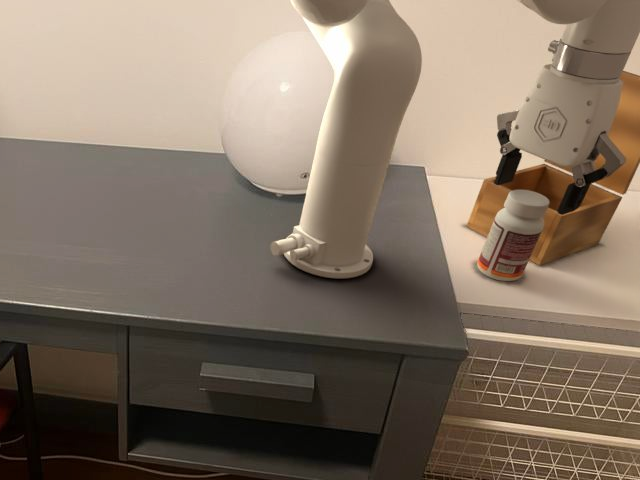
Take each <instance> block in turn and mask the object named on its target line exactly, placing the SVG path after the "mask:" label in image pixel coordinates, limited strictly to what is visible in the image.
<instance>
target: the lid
mask: <svg viewBox="0 0 640 480" xmlns="http://www.w3.org/2000/svg"><path fill="white" fill-rule="evenodd" d="M619 80H622V81H623V86H622V92H621V96H620V100H619V104H618V108H617V111H616V114H615V117H614V120H613V123H612V126H611V129H610V132H609V134H608V137H609V138H610V139H611V141H612V142H613V143H614V144H615V145H616V147H617V148H618V149H619V150H620V152H621V153H622V154H623V155H624V156H625V158H626V162H625V163H624V164H623V165H622V166H621V167H619V168H618V169H617V170H616V171H615V172H613V173H612V174H611V175H610V176H609V177H606V178H604V179H601V180H599V181H597V182H595V183H594V184H596V185H599V186H600V187H603V188H605V189H607V190H610V191H613V192H615V193H617V194H620V195H625V194H627V192H628V190H629V188H630V185H631V183H632V181H633V179H634V176H635V175H636V172H637V170H638V168H639V166H640V75H639V74H637V73H636V74H635V73H632V72H629V71H626V70H623V72H622V74H621V76H620V78H619ZM543 160H544V161H543V162H544V163H546V164H548V165H549V164H550V165H552V166H554V167H556V168H559V169H561V170H564V171H566V172H568V173H569V174H570V173H571V174H572V170H571V168H567V167H563V166H560V165H557V164H554V163H552V162H550V161H547V160H545V159H543ZM605 162H606V160H605V158H604V157H603V156H602V154H601V153H600V154H599V156H598V158H597V159H596V160H595V161H594V164H595V168H596V170H598V169H600V168H601V167H602V166H603V165H604V164H605Z"/></svg>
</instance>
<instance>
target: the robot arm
mask: <svg viewBox="0 0 640 480" xmlns="http://www.w3.org/2000/svg"><path fill="white" fill-rule="evenodd" d="M289 1H290V3H291V5H292V7H293V9H295V11H296V12H297V13H298V14H299V15H300V16H301V17H302V19H303V20H304V22H305V24H306V25H307V27H308V29H309V30H310V32H311V34H312V35H313V36H314V38H315V40H316V41H317V44H318V45H319V46H320V48H321V49H322V51H323V53H324V55H325V56H326V59H327V60H328V62H329V64H330V65H331V67H332V70H333V72H334V78H333V84H332V88H331V92H330V94H329V98H328V100H327V104H326V107H325V110H324V113H323V117H322V120H321V124H320V128H319V132H318V136H317V141H316V147H315V151H314V157H313V161H312V165H311V170H310V175H309V179H308V184H307V189H306V192H305V197H304V202H303V207H302V211H301V216H300V219H299V220H300V221H299V225H295V226H293V231H292V233H291V234H289V235H288V236H286V238H285V239H279V240H276V241H272V242H271V243H270V247H269V248H270V252H271V254H272V255H273V256H279V255H284V257H285V258H286V259H287V261H288V262H289V263H290V264H291V265H293V267H296V268H297V269H298V270H301V271H304V272H306V273H308V274H311V275H314V276H318V277H322V278H327V279H328V278H329V279H339V280H340V279H351V278H352V279H353V278H356V277H359V276H363V275H364V274H366V273H368V271H369V270H371V267H372V266H373V261H374V254H373V251H372V250H371V248H370V247H369V246H368V245H367V241H368V239H369V235H370V231H371V228H372V225H373V221H374V217H375V215H376V210H377V207H378V203H379V200H380V197H381V192H382V190H383V187H384V183H385V180H386V176H387V172H388V170H389V167H390V166H389V165H390V162H391V158H392V155H393V151H394V149H395V148H394V147H395V144H396V140H397V138H398V136H399V135H398V134H399V131H400V129H401V126H402V123H403V120H404V117H405V115H406V112H407V110H408V107H409V106H410V103H411V101H412V99H413V96H414V94H415V92H416V89H417V87H418V85H419V81H420V77H421V72H422V65H423V57H422V49H421V44H420V42H419V39H418V38H417V37H418V36H416V33H415V32H414V31H413V30H412V28H411V27H410V25H409V24H408V23H407V22H406V21H405V19H403V18H402V17H401V16H400V15H399V13H398V12H397V11H396V10H395V8H394V6H393V5H392V3H391V1H390V0H289ZM517 2H519V3H520V4H521V5H523V6H524V7H526V8H527V9H529V10H531V11H532V12H534V13H536V14H537V16H539V17H541V18H542V19H544V20H546V21H547V22H549V23H551V24H555V25H565V28H564V30H563V33H562V36H561V38H560V39H559V40H556V39H554V40H552V41H551V42H550V43H549V45H548V47H547V51H548V52H549V53H552V54H553V56H552V59H551V62H552V63H549V64H545V65H544V66H543V67H542V68H541V70H540V71H539V73H538V74H537V76H536V78H535V79H534V81H533V83H532V85H531V86H530V88H529V90H528V92H527V94H526V96H525V98H524V100H523V102H522V104H521V106H520V108H519V109H514V110H510V111H505V112H500V113H498V114H497V116H496V125H497V126H496V127H497V130H498V131H497V133H496V137H497V139H498V143H499V145H500V148H499V153H500V155H501V158H500V161H499V163H498V166H497V168H496V171H495V176H496V178H495V181H494V184H496V185H502V184H505V183H508V182H511V181H512V180H513V178H514V176H515V173H516V171H518V168H519V165H520V163H521V160H522V159H523V158H522V157H523V153H522V152H521V151H523V152H525V153H528V154H530V155H533V156H535V157H538V158H540V159H542V160H547V161H550V162H552V163H554V164H557V165H560V166H563V167H567V168H571V170H572V173H571V175H572V176H573V178H574V181H575V182H574V183H572V184H569V185H568V187H567V190H566V192H565V194H564V196H563V199H562V201H561V203H560V206H559V208H558V210H557V212H558V213H559V214H561V215H563V214H566V213H569V212H572V211H575V210H576V209H578V208H579V207H580V206H581V204H582V202H583V200H584V197H585V195H586V193H587V191H588V189H589V186H590V184H596V183H595V182H597V181H599V180H601V179H604V178H606V177H609V176H610V175H611V174H612V173H613V172H615V171H616V170H617V169H618V168H619V167H621V166H622V165H623V164H624V163H625V162H626V158H625V156H624V155H623V154H622V153H621V152H620V150H619V149H618V148H617V147H616V145H615V144H614V143H613V142H612V141H611V139H610V138H609V137H608V134H609V132H610V129H611V126H612V123H613V120H614V117H615V114H616V111H617V108H618V104H619V100H620V96H621V92H622V86H623V81H622V80H619V78H620V76H621V74H622V72H623V71H624V70H625V67H626V65H627V62H628V60H629V58H630V57H631V53H632V51H633V49H634V47H635V44H636V43H637V40H638V38H639V35H640V0H517ZM512 124H513V125H512ZM600 153H601V154H602V156H603V157H604V158H605V160H606V162H605V164H604V165H603V166H602V167H601V168H600V169H598V170H596V168H595V164H594V161H595V160H596V159H597V158H598V156H599V154H600Z"/></svg>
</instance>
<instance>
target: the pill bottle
mask: <svg viewBox="0 0 640 480" xmlns="http://www.w3.org/2000/svg"><path fill="white" fill-rule="evenodd" d="M548 206H549V200H548V198H546V197H545V196H543V195H541V194H539V193H537V192H533V191H529V190H513V191H511V192H509V194H508V196H507V199H506V201H505V203H504V207H505V208H503V209H501V210H500V211H499V212H498V213H497V215H496V217H495V219H494V222H493V224H492V227H491V229H490V232H489V234H488V237H486V239H485V242H484V244H483V247H482V249H481V252H480V255H479V257H478V260H477V263H476V266H477V269H478V270H479V271H480V272H481V273H482V274H483V275H485V276H487V277H488V278H491V279H493V280H496V281H503V282H511V281H517V280H519V279H520V278H522V276H523V275H524V272H525V270H526V268H527V266H528V263H529V261H530V260H529V259H530V257H531V254H532V252H533V250H534V248H535V245H536V243H537V241H538V239H539V237H540V234H541V232H542V230H543V227H544V220H543V218H542V217H543V216H544V215H545V213H546V210H547V208H548Z"/></svg>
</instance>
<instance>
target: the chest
mask: <svg viewBox="0 0 640 480" xmlns="http://www.w3.org/2000/svg"><path fill="white" fill-rule="evenodd" d="M495 178H496V175H495V176H491V177H488V178H484V179H483V181H482V184H481V187H480V189H479V192H478V195H477V197H476V199H475V202H474V205H473V208H472V210H471V213H470V215H469V218H468V221H467V224H466V227H467V228H469V229H470V230H472V231H475V232H477V233H478V234H480V235H481V236H484V237H485V238H487V237H488V234H489V232H490V229H491V227H492V224H493V222H494V219H495V217H496V215H497V213H498V212H499V211H500V210H501V209H503V208H505V207H504V203H505V201H506V199H507V196H508V194H509V192H511V191H513V190H529V191H533V192H537V193H539V194H541V195H543V196H545V197H546V198H548V200H549V206H548V208H547V210H546V213H545V215H544V216H543V217H542V218H543V220H544V227H543V230H542V232H541V234H540V237H539V239H538V241H537V243H536V245H535V248H534V250H533V252H532V254H531V257H530V259H529V261H531V262H532V263H534V264H536V265H539V266H541V265H544V264H548V263H549V262H553V261H555V260H559V259H560V258H564V257H567V256H570V255H571V254H575V253H578V252H580V251H583V250H586V249H589V248H592V247H595V246H597V245H599V243H600V242H601V240H602V238H603V237H604V235H605V233H606V231H607V228H608V227H609V225H610V223H611V221H612V218H613V217H614V214H615V213H616V211H617V209H618V207H619V205H620V203H621V201H622V199H623V197H622V196H621V195H619V194H616V193H614V192H611V191H609V190H608V189H607V190H606V189H604V188H602V187H601V186H597V185H595V184H594V183H592V184H590V186H589V189H588V191H587V193H586V195H585V197H584V200H583V202H582V204H581V206H580V207H579V208H578V209H576V210H575V211H572V212H569V213H566V214H563V215H561V214H559V213H558V212H557V210H558V208H559V206H560V203H561V201H562V199H563V196H564V194H565V192H566V190H567V187H568V185H569V184H572V183H574V182H575V181H574V178H573V174H570V173H567V172H564V171H562V170H560V169H558V168H555V167H553V166H550V165H549V164H547V163H541V164H537V165H534V166H529V167H526V168H522V169H517V171H516V173H515V176H514V178H513V180H512V181H511V182H508V183H505V184H502V185H496V184H494V181H495Z"/></svg>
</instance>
